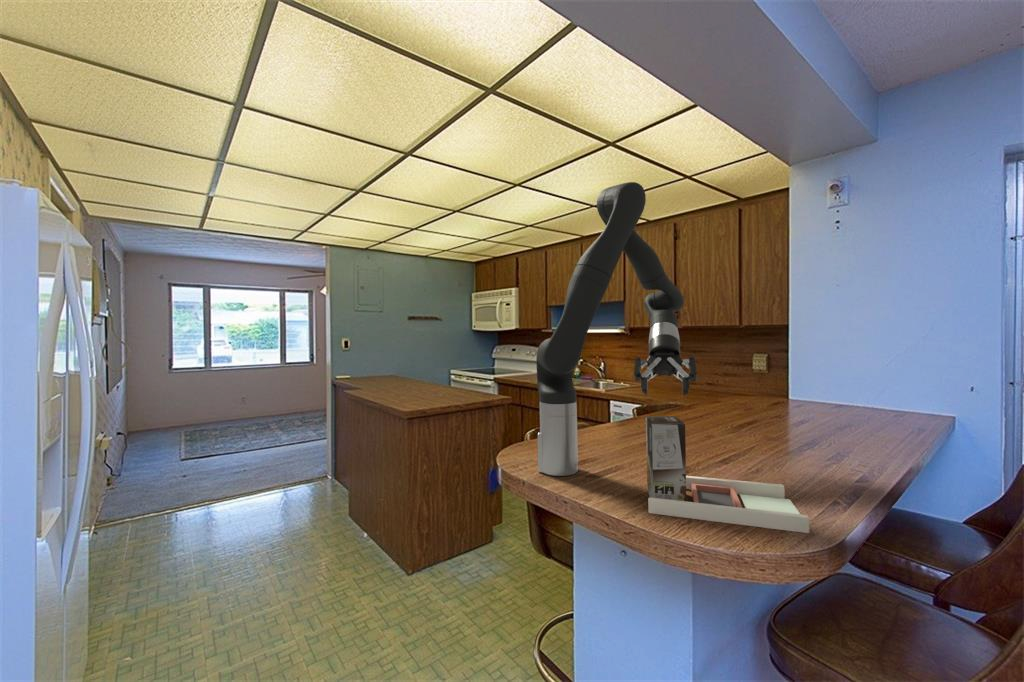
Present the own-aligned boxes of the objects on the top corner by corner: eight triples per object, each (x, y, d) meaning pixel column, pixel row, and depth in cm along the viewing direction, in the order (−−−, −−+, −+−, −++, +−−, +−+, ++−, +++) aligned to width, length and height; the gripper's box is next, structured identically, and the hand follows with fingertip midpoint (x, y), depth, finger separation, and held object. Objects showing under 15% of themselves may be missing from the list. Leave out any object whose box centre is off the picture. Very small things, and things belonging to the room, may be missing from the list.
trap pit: (695, 515, 74) (694, 506, 74) (691, 490, 87) (691, 483, 87) (744, 521, 72) (744, 512, 72) (733, 494, 84) (733, 487, 84)
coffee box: (688, 509, 77) (686, 424, 77) (652, 507, 78) (650, 423, 78) (678, 491, 86) (676, 415, 86) (646, 489, 87) (645, 414, 87)
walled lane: (648, 513, 76) (648, 499, 76) (652, 483, 91) (651, 472, 91) (809, 533, 67) (808, 518, 67) (783, 496, 82) (782, 484, 82)
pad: (750, 520, 72) (750, 518, 72) (739, 496, 83) (739, 494, 83) (809, 527, 69) (809, 525, 69) (789, 501, 80) (789, 499, 80)
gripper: (634, 334, 106) (632, 382, 95) (694, 332, 101) (698, 383, 90) (636, 353, 111) (634, 402, 100) (693, 352, 106) (698, 403, 95)
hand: (665, 393), depth 95 cm, fingers open, 8 cm apart
